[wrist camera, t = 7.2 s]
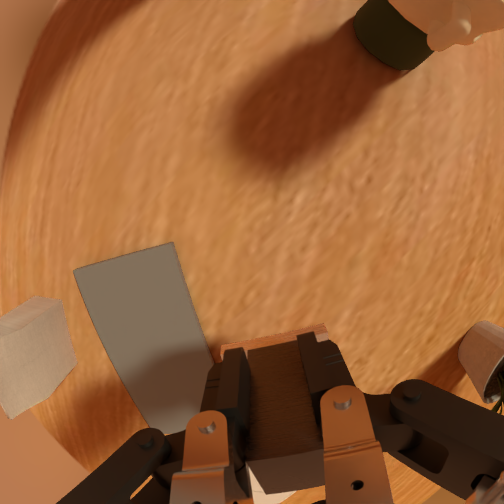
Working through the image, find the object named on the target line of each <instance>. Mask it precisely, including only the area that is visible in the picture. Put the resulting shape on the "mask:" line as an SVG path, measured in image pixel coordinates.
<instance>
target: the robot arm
mask: <svg viewBox="0 0 504 504" xmlns="http://www.w3.org/2000/svg"><path fill="white" fill-rule="evenodd" d="M296 337H297V341H298V346H299V351H300V356H301V360H302V364H303V369H304V373H305V377H306V381H307V386H308V390H309V394H310V399H311V403H312V408H313V412H314V417H315V421H316V424H320V426H321V431H322V435H323V442H324V453H323V454H324V472H325V492H326V499H325V500H321V501H317V502H315V503H312V504H394V503H393V499H392V494H391V489H390V484H389V479H388V474H387V470H386V466H385V461H384V457H383V453H382V452H388V453H389V454H390V455H391V456H393V457H394V458H396V459H397V460H399V461H400V462H402V463H404V464H405V465H407V466H408V467H410V468H411V469H413V470H414V471H416V472H418V473H419V474H421V475H423V476H424V477H426V478H427V479H429V480H431V481H432V482H434V483H436V484H437V485H439V486H441V487H443V488H444V489H446V490H448V491H450V492H451V493H453V494H455V495H457V496H459V497H460V498H463V499H464V500H466V502H465V504H504V416H503V415H501V414H498V413H496V412H493V411H491V410H488V409H486V408H484V407H481V406H479V405H477V404H474V403H472V402H470V401H467V400H465V399H463V398H460V397H458V396H456V395H454V394H451V393H449V392H447V391H445V390H442V389H440V388H438V387H436V386H434V385H431V384H429V383H427V382H425V381H422V380H418V379H411V380H406V381H403V382H401V383H399V384H398V385H396V386H395V387H394V388H393V390H392V392H391V394H382V395H370V394H366V393H363V392H362V391H361V390H360V389H359V388H357V387H356V386H355V384H354V382H353V379H352V377H351V375H350V373H349V370H348V368H347V366H346V364H345V361H344V359H343V357H342V355H341V352H340V350H339V348H338V346H337V345H336V344H335V343H333V342H332V341H331V340H325V341H321V342H317V339H316V336H315V333H314V331H312V332H308V333H303V334H299V335H296ZM206 381H207V382H206V384H205V389H204V394H203V398H202V403H201V408H200V413H198V414H196V415H195V416H193V417H192V418H191V419H190V420H189V422H188V423H187V426H186V429H185V430H183V431H180V432H177V433H173V434H170V435H166V436H165V435H164V434H163V432H162V431H160V430H159V429H156V428H145V429H142V430H140V431H138V432H136V433H135V434H134V435H133V436H132V437H131V438H129V439H128V440H127V441H126V442H125V443H124V444H123V445H122V446H121V447H120V448H119V449H118V450H117V451H115V452H114V453H113V454H112V455H111V456H110V457H109V458H108V459H107V460H106V461H105V462H103V463H102V464H101V465H100V466H99V467H98V468H97V469H96V470H94V471H93V472H92V473H91V474H90V475H89V476H88V477H87V478H85V479H84V480H83V481H82V482H81V483H80V484H79V485H77V486H76V487H75V488H74V489H73V490H72V491H70V492H69V493H68V494H67V495H66V496H64V497H63V498H62V499H61V500H60V501H58V502H57V503H56V504H254V501H253V495H252V487H251V480H250V472H249V466H248V465H247V463H246V437H248V436H250V366H249V363H248V360H247V357H246V354H245V351H244V349H243V347H238V348H233V349H227V350H225V351H224V356H223V362H221V363H215V364H214V365H213V366H212V368H211V369H210V370H209V371H208V375H207V380H206ZM150 475H151V476H152V477H153V478H152V479H151V480H150V481H149V482H148V483H147V484H146V485H145V486H144V487H143V488H142V489H141V490H140V491H139V492H138V493H137V494H136V495H135V496H134V497H133V498H132V499H131V500H130V496H131V495H132V493H133V492H134V491H135V490H136V489H137V488H138V487H139V486H140V485H141V484H142V483H143V482H144V481H145V480H146V479H147V478H148V477H149V476H150Z"/></svg>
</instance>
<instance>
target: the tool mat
mask: <svg viewBox="0 0 504 504" xmlns="http://www.w3.org/2000/svg"><path fill="white" fill-rule="evenodd" d="M73 273H74V276H75V278H76V281H77V284H78V287H79V289H80V292H81V294H82V297H83V300H84V302H85V305H86V307H87V309H88V312H89V314H90V317H91V319H92V321H93V324H94V326H95V328H96V330H97V333H98V335H99V337H100V339H101V341H102V343H103V345H104V347H105V349H106V352H107V354H108V356H109V358H110V360H111V361H112V363H113V365H114V367H115V369H116V371H117V373H118V375H119V377H120V378H121V380H122V382H123V384H124V386H125V387H126V389H127V391H128V393H129V394H130V396H131V398H132V399H133V401H134V403H135V404H136V406H137V408H138V409H139V411H140V413H141V414H142V416H143V417H144V419H145V420H146V422H147V424H148V425H149V427H150V428H156V429H159V430H160V431H162V432H163V434H172V433H177V432H180V431H183V430H185V429H186V426H187V423H188V422H189V420H190V419H191V418H192V417H193V416H195V415H196V414H198V413H200V408H201V403H202V398H203V394H204V389H205V384H206V382H207V381H206V380H207V375H208V371H209V370H210V369H211V368H212V366H213V365H214V361H213V359H212V356H211V353H210V351H209V348H208V345H207V343H206V340H205V337H204V334H203V332H202V329H201V326H200V323H199V320H198V318H197V315H196V312H195V309H194V306H193V303H192V300H191V297H190V294H189V291H188V288H187V285H186V282H185V279H184V276H183V272H182V269H181V266H180V263H179V260H178V256H177V253H176V250H175V246H174V243H173V242H170V243H166V244H162V245H159V246H155V247H151V248H148V249H144V250H140V251H137V252H133V253H129V254H126V255H122V256H119V257H115V258H112V259H108V260H105V261H101V262H98V263H94V264H91V265H87V266H84V267H81V268H77V269H75V270H73Z"/></svg>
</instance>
